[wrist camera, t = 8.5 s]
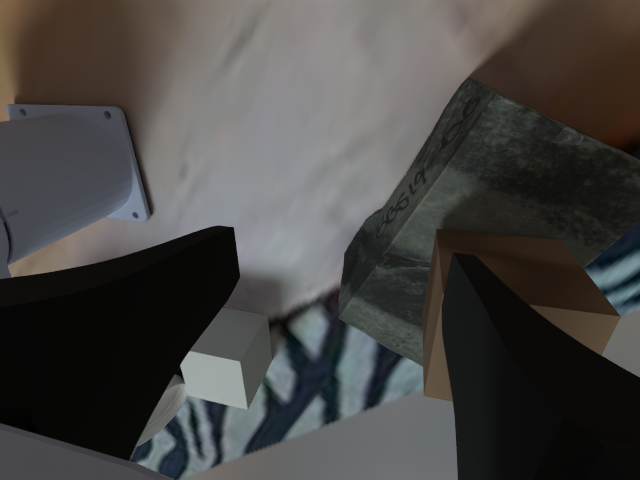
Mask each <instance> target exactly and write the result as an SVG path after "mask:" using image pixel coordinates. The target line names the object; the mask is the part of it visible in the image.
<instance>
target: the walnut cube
mask: <svg viewBox="0 0 640 480" xmlns="http://www.w3.org/2000/svg"><path fill="white" fill-rule="evenodd" d="M453 252H455V253H464V254H472V255H475V256H477V257H478V258H479V259H480V260H481V261H482V262H483V263H484V264H485V265H486V266H487V267H488V268H489V269H490V270H491V271H492V272H493V273H494V274H495V275H496V276H497V277H498V278H499V279H500V280H501V281H502V282H503V283H505V284H506V285H507V286H508V287H509V288H510V289H511V290H512V291H513V292H514V293H515V294H517V295H518V296H519V297H520V298H521V299H522V300H523V301H525V302H526V303H527V304H528V305H530V306H531V307H532V308H533V309H534V310H536V311H537V312H538V313H539V314H541V315H542V316H543V317H545V318H546V319H547V320H549V321H550V322H551V323H553V324H554V325H555V326H557V327H558V328H560V329H561V330H563V331H564V332H565V333H567V334H568V335H570V336H571V337H573V338H574V339H576V340H577V341H579V342H580V343H582V344H583V345H585V346H586V347H588V348H590V349H591V350H593V351H595V352H596V353H598V354H600V355H602V353H603V351H604V349H605V347H606V345H607V343H608V341H609V339H610V337H611V335H612V333H613V331H614V329H615V327H616V325H617V323H618V321H619V319H620V317H621V316H620V315H619V314H618V312H617V311H616V310H615V309H614V307H613V306H612V305H611V303H610V302H609V301H608V300H607V298H606V297H605V296H604V295H603V293H602V292H601V291H600V289H599V288H598V287H597V286H596V284H595V283H594V282H593V281H592V279H591V278H590V277H589V275H588V274H587V273H586V272H585V270H584V269H583V268H582V266H581V265H580V264H579V263H578V261H577V260H576V259H575V258H574V256H573V255H572V254H571V252H570V251H569V250H568V249H567V247H566V246H565V245H564V243H563V242H562V241H561V240H558V239H546V238H535V237H524V236H513V235H502V234H491V233H480V232H469V231H458V230H447V229H436V234H435V240H434V246H433V252H432V259H431V265H430V271H429V278H428V284H427V290H426V297H425V303H424V309H423V375H424V396H428V397H433V398H438V399H443V400H448V401H453V398H452V392H451V386H450V380H449V374H448V368H447V362H446V356H445V350H444V344H443V337H442V310H441V306H442V301H443V297H444V292H445V287H446V282H447V277H448V273H449V268H450V263H451V258H452V253H453Z"/></svg>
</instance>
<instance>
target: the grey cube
mask: <svg viewBox="0 0 640 480" xmlns="http://www.w3.org/2000/svg"><path fill="white" fill-rule="evenodd" d="M271 362H272V353H271V343H270V333H269V323H268V315H264V314H258V313H253V312H247V311H241V310H235V309H229V308H223V307H222V309H221V310H220V311H219V313H218V314H217V315H216V317H215V318H214V319H213V321H212V322H211V323H210V325H209V326H208V327H207V329H206V330H205V331H204V332H203V334H202V335H201V336H200V338H199V339H198V340H197V342H196V343H195V344H194V346H193V347H192V348H191V350H190V351H189V353H188V354H187V355H186V357H185V358H184V360H183V361H182V363H181V365H180V366H181V370H182V374H183V377H184V381H185V385H186V388H187V392H188V396H192V397H196V398H200V399H204V400H209V401H213V402H217V403H221V404H225V405H229V406H233V407H238V408H242V409H246V410H248V408H249V406H250V404H251V402H252V400H253V398H254V396H255V394H256V392H257V390H258V388H259V386H260V384H261V382H262V380H263V378H264V376H265V374H266V372H267V370H268V368H269V366H270V364H271Z"/></svg>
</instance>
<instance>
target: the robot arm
mask: <svg viewBox="0 0 640 480" xmlns="http://www.w3.org/2000/svg"><path fill="white" fill-rule="evenodd" d="M6 111H7V113H8V116H9V118H10V121H3V122H0V480H173V479H171V478H169V477H166V476H164V475H162V474H160V473H157V472H155V471H153V470H151V469H148V468H146V467H144V466H142V465H139V464H137V463H133V462H130V461H129V459H130V457H131V455H132V452H133V450H134V448H135V446H136V444H137V442H138V440H139V439H140V437H141V435H142V433H143V431H144V429H145V427H146V425H147V423H148V421H149V419H150V417H151V415H152V413H153V411H154V410H155V408H156V406H157V404H158V403H159V401H160V399H161V397H162V395H163V394H164V392H165V390H166V388H167V386H168V385H169V383H170V381H171V380H172V378H173V376H174V375H175V373H176V371H177V370H178V368H179V366H180V365H181V363H182V361H183V360H184V358H185V357H186V355H187V354H188V353H189V351H190V350H191V348H192V347H193V346H194V344H195V343H196V342H197V340H198V339H199V338H200V336H201V335H202V334H203V332H204V331H205V330H206V329H207V327H208V326H209V325H210V323H211V322H212V321H213V319H214V318H215V317H216V315H217V314H218V313H219V311H220V310H221V309H222V307H223V306H224V305H225V303H226V302H227V300H228V299H229V297H230V295H231V294H232V292H233V290H234V288H235V286H236V284H237V282H238V280H239V278H240V272H239V264H238V256H237V249H236V241H235V233H234V227H226V226H213V227H209V228H206V229H202V230H199V231H196V232H193V233H191V234H188V235H185V236H182V237H179V238H177V239H174V240H171V241H168V242H165V243H163V244H160V245H157V246H154V247H150V248H147V249H144V250H141V251H138V252H135V253H132V254H129V255H126V256H122V257H118V258H115V259H111V260H107V261H103V262H99V263H95V264H90V265H86V266H81V267H75V268H70V269H65V270H60V271H54V272H49V273H42V274H35V275H28V276H20V277H12V278H11V274H10V272H9V269H8V265H10V264H12V263H14V262H16V261H18V260H20V259H22V258H24V257H26V256H28V255H30V254H32V253H34V252H36V251H38V250H40V249H42V248H44V247H46V246H48V245H50V244H52V243H54V242H56V241H58V240H60V239H62V238H64V237H66V236H68V235H70V234H72V233H74V232H76V231H78V230H80V229H82V228H84V227H86V226H88V225H90V224H92V223H94V222H96V221H98V220H100V219H102V218H113V219H122V220H131V221H140V222H146V221H147V220H149V219H150V212H149V208H148V204H147V200H146V196H145V192H144V189H143V185H142V181H141V177H140V173H139V169H138V165H137V161H136V158H135V154H134V150H133V146H132V142H131V138H130V134H129V131H128V127H127V123H126V119H125V115H124V113H123V111H122V110H121V109H120V108H119V107H116V106H78V105H38V104H9V105H7V107H6ZM109 113H110V115H111V117H110V116H109ZM136 213H137V214H138V215H137V214H136ZM441 310H442V337H443V344H444V350H445V356H446V362H447V368H448V374H449V380H450V386H451V392H452V398H453V405H454V414H455V428H456V446H457V467H458V480H640V377H638V376H636V375H634V374H632V373H631V372H629V371H627V370H625V369H623V368H622V367H619V366H618V365H616V364H615V363H613V362H611V361H610V360H608V359H606V358H605V357H603V356H601V355H600V354H598V353H596V352H595V351H593V350H591V349H590V348H588V347H586V346H585V345H583V344H582V343H580V342H579V341H577V340H576V339H574V338H573V337H571V336H570V335H568V334H567V333H565V332H564V331H563V330H561V329H560V328H558V327H557V326H555V325H554V324H553V323H551V322H550V321H549V320H547V319H546V318H545V317H543V316H542V315H541V314H539V313H538V312H537V311H536V310H534V309H533V308H532V307H531V306H530V305H528V304H527V303H526V302H525V301H523V300H522V299H521V298H520V297H519V296H518V295H517V294H515V293H514V292H513V291H512V290H511V289H510V288H509V287H508V286H507V285H506V284H505V283H503V282H502V281H501V280H500V279H499V278H498V277H497V276H496V275H495V274H494V273H493V272H492V271H491V270H490V269H489V268H488V267H487V266H486V265H485V264H484V263H483V262H482V261H481V260H480V259H479V258H478V257H477V256H475V255H472V254H464V253H455V252H453V253H452V258H451V263H450V268H449V273H448V277H447V282H446V287H445V292H444V297H443V301H442V306H441Z"/></svg>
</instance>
